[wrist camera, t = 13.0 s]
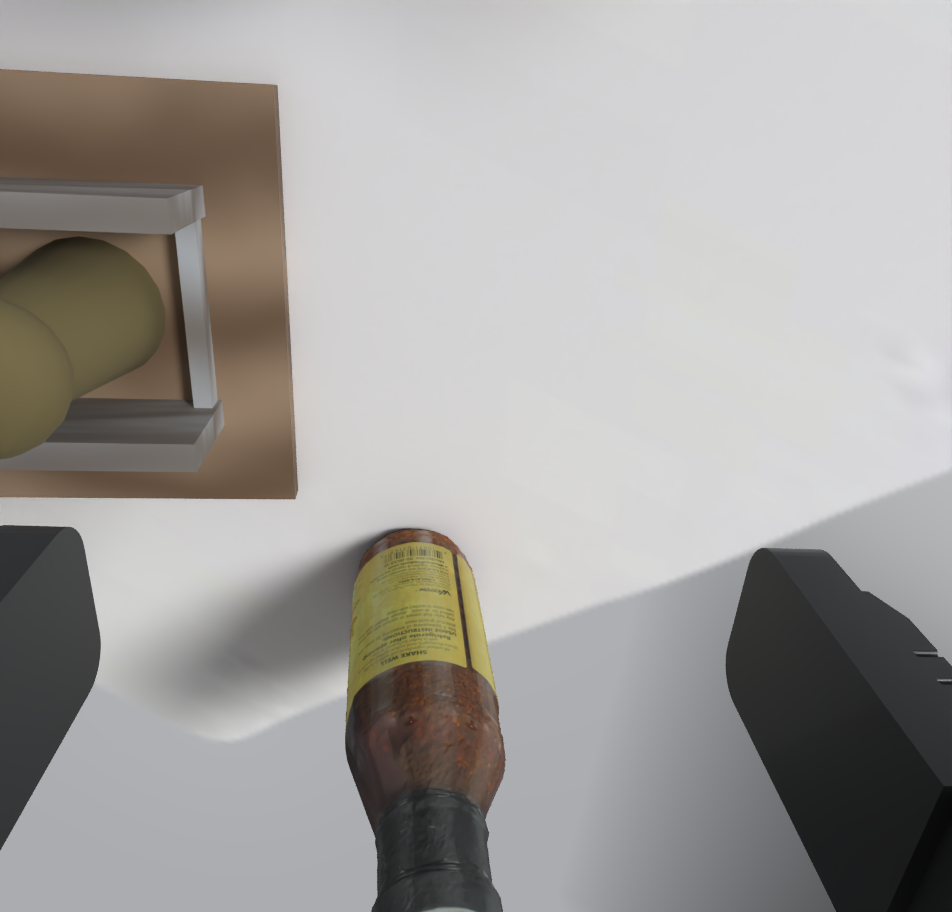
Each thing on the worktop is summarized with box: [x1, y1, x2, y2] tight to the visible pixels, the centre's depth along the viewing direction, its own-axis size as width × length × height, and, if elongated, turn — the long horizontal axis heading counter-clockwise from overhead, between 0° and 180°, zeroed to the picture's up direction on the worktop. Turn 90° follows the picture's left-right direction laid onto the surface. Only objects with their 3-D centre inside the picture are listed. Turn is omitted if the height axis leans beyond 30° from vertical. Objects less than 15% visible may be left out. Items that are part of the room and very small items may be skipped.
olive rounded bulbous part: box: [0, 236, 165, 459], centre depth 27 cm, size 6×6×11 cm
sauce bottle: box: [345, 529, 506, 912], centre depth 31 cm, size 7×6×20 cm
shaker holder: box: [0, 69, 298, 499], centre depth 31 cm, size 18×16×6 cm
